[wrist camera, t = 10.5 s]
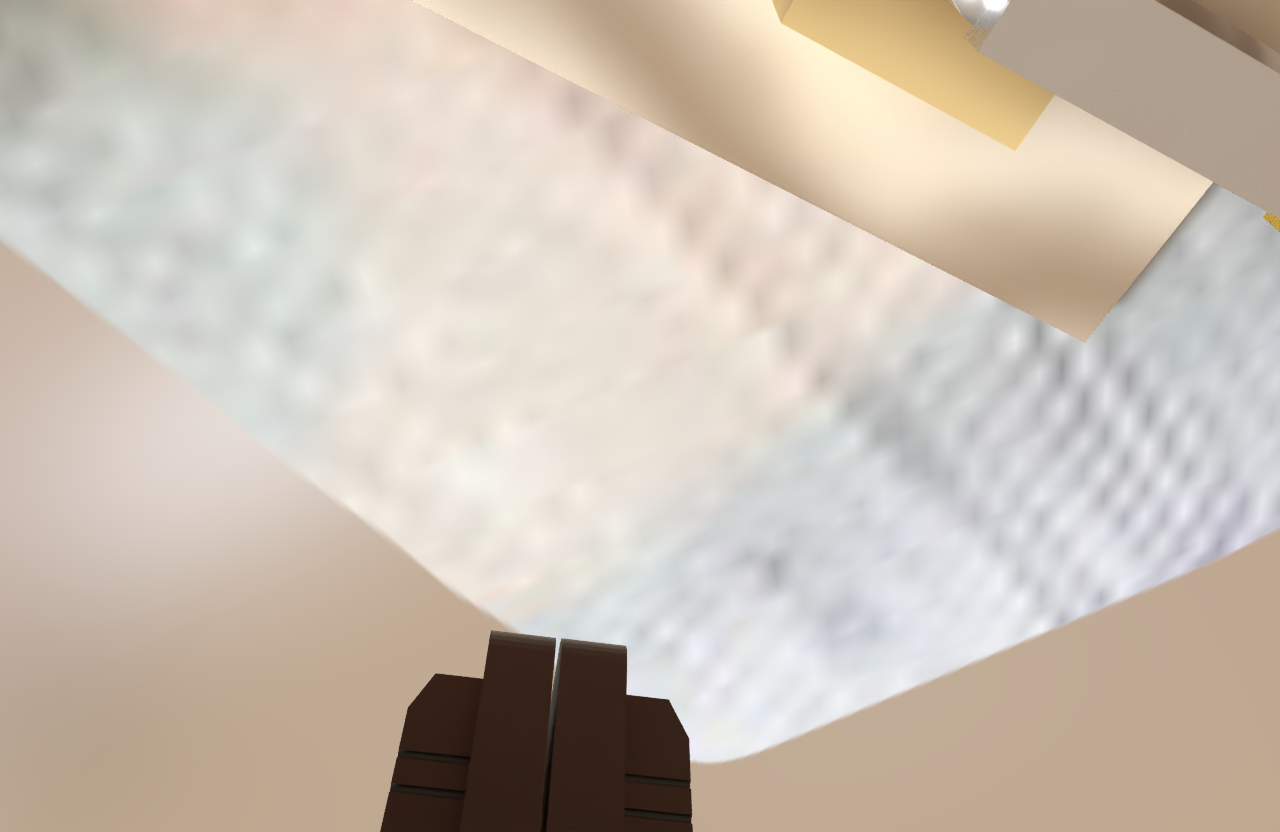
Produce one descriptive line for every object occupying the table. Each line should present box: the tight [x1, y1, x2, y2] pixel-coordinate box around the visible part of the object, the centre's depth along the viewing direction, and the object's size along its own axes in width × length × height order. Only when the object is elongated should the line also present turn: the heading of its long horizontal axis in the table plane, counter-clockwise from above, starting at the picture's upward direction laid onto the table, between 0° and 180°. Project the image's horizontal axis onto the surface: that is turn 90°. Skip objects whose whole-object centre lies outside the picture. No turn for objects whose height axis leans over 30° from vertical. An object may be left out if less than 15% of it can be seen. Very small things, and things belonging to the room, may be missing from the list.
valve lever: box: [948, 0, 1280, 232], centre depth 26 cm, size 15×3×3 cm, turn 63°
